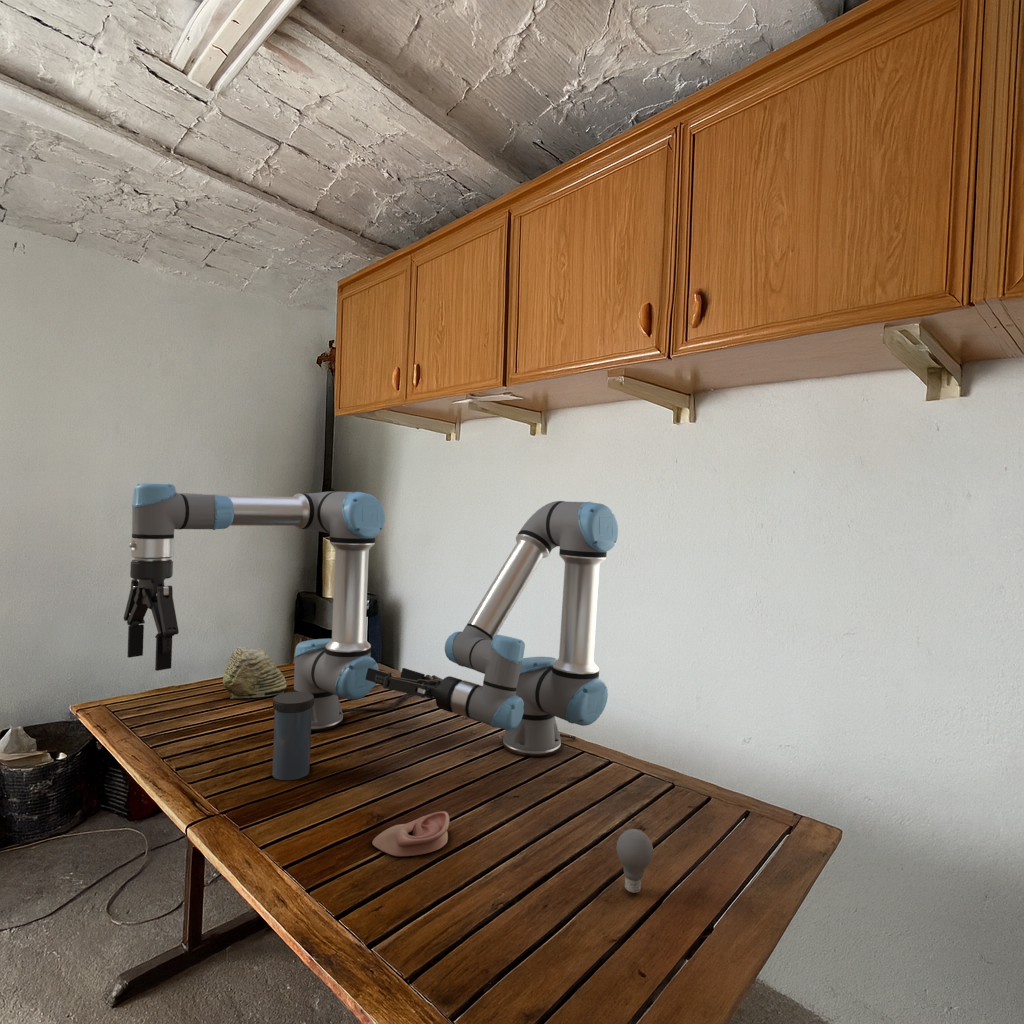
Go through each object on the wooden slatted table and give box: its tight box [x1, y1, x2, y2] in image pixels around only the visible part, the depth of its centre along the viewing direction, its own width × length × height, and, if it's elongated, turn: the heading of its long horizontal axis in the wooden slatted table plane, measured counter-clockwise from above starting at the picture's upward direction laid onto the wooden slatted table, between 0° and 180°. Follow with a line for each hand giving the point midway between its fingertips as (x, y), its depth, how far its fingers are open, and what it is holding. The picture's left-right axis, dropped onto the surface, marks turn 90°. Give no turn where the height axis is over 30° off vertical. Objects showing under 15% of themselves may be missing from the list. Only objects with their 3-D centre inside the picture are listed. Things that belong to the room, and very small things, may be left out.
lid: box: [272, 691, 314, 712], centre depth 144 cm, size 9×9×2 cm
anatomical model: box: [372, 810, 450, 857], centre depth 118 cm, size 13×4×12 cm
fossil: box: [222, 646, 288, 699], centre depth 198 cm, size 9×18×15 cm, turn 132°
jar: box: [271, 708, 312, 781], centre depth 144 cm, size 8×8×17 cm
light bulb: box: [615, 828, 654, 894], centre depth 106 cm, size 6×6×10 cm
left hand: (148, 662), depth 129 cm, fingers open, 13 cm apart
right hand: (385, 673), depth 154 cm, fingers open, 13 cm apart
